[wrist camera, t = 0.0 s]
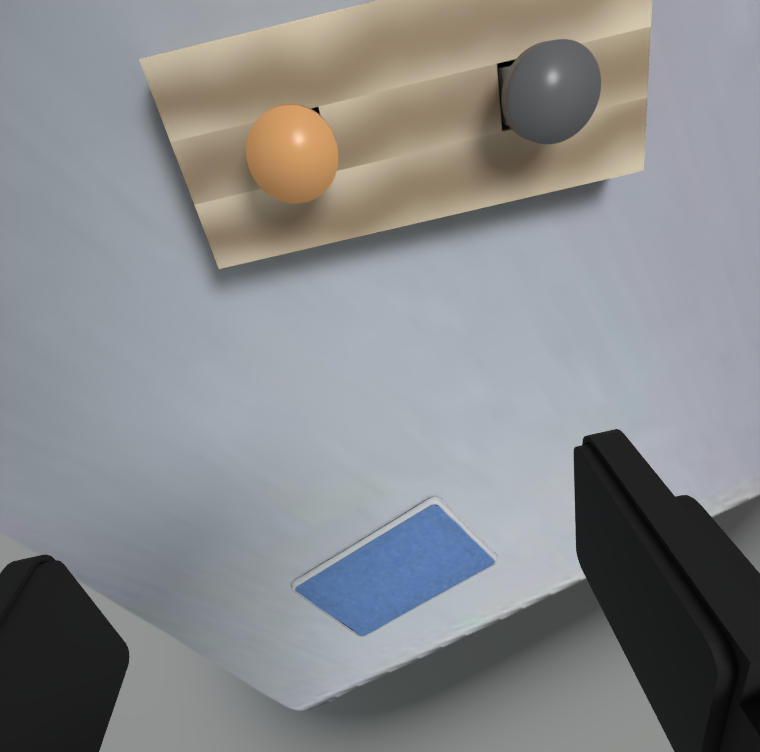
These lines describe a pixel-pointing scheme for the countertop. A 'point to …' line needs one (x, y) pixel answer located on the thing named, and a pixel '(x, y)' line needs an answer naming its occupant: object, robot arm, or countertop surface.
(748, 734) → the robot arm
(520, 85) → the gray knob
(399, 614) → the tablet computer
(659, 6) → the countertop surface
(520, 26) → the control block
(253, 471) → the countertop surface
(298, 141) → the orange knob
